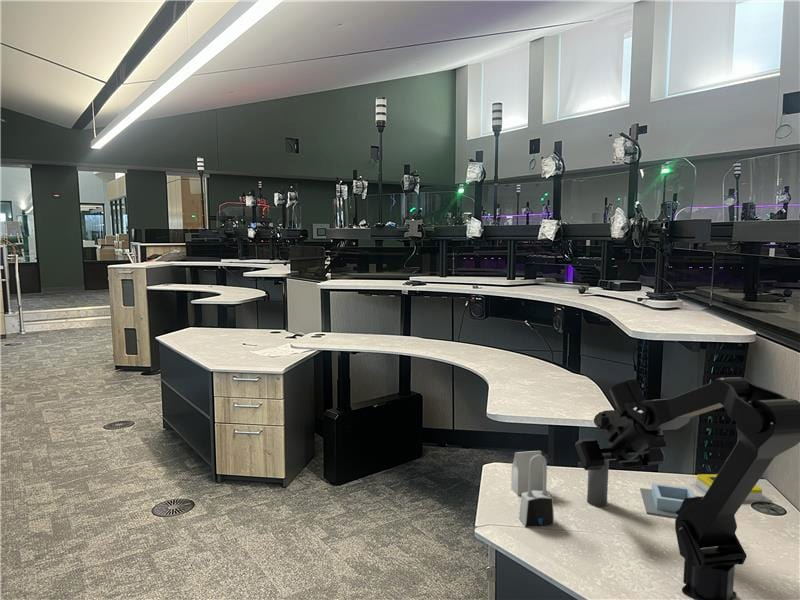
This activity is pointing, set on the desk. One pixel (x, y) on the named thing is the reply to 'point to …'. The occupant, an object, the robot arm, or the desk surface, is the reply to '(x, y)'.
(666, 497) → the dock
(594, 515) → the desk surface
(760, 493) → the emergency button
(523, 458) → the grey chamfered block
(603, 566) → the desk surface
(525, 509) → the padlock
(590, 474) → the plug
